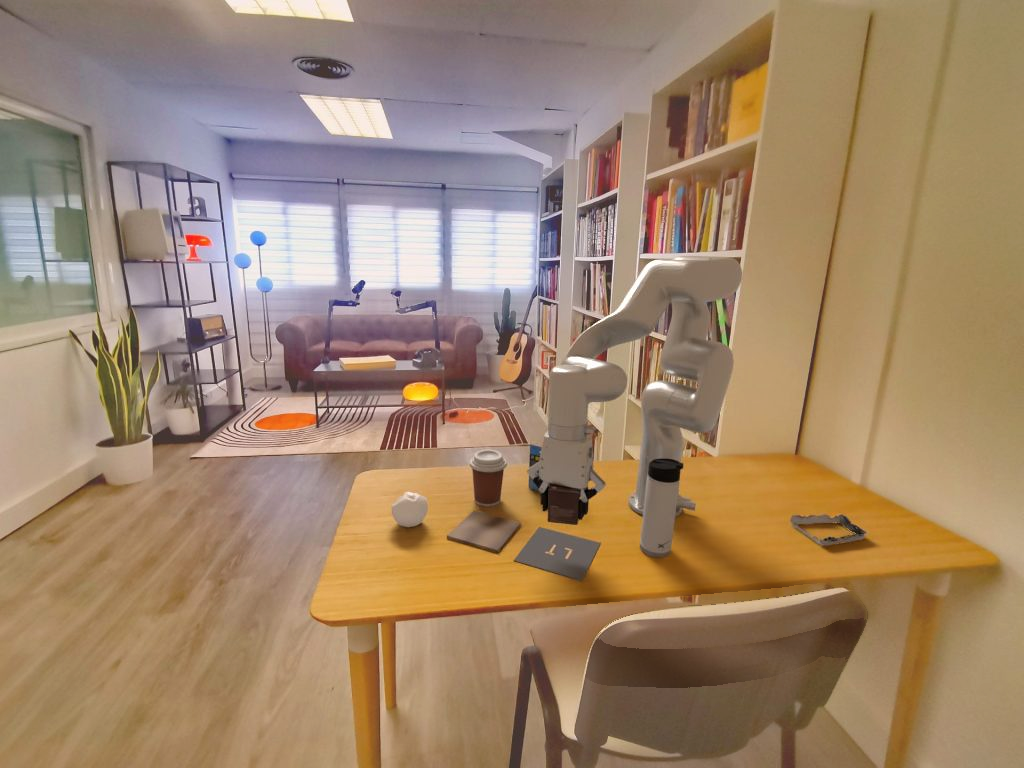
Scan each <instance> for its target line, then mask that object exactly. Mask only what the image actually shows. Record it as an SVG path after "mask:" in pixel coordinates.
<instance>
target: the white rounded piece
mask: <svg viewBox="0 0 1024 768" xmlns="http://www.w3.org/2000/svg"><path fill="white" fill-rule="evenodd" d="M428 507H429V506H428V499H427V497H425V495H424V496H423V495H420V494H419V493H417V492H411V491H405V492H404V493H403V495H402V496H400V497H398V498H397V499H395V501H394V503H393V504H392V505H391V515H392V518H393V520H394V521H395V522H396V523H397V524H398V525H400V526H402V527H405V528H413V527H416V526H418V525H420V524H421V523H423V521H424V519H425V518H426V516H427V514H428V510H429V508H428Z"/></svg>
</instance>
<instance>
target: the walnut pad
mask: <svg viewBox="0 0 1024 768" xmlns="http://www.w3.org/2000/svg"><path fill="white" fill-rule="evenodd" d="M521 525H522V522H520V521H516V520H512V519H508V518H504V517H500V516H497V515H493V514H490V513H485V512H481V511H477V510H473V511H471V512H470V514H468V515H467V516H466V517H465V518H464V519H463V520H462V521H461V522H460V523H459V524H458V525H456V526H455V528H453V529H452V530H451V531H450V532H449V533H447V535H446V538H447V539H449V540H453V541H456V542H458V543H459V542H460V543H462V544H466V545H470V546H473V547H477V548H480V549H484V550H487V551H489V552H490V551H491V552H494V553H499V552H500V551H501V550H502V548H503V547H505V544H506V543H507V542H508V541H509V540H510V538H511V537H513V535H514V534H515V533H516V532H517V530H518V529H519V528H520V527H521Z"/></svg>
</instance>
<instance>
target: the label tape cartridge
mask: <svg viewBox="0 0 1024 768" xmlns="http://www.w3.org/2000/svg"><path fill="white" fill-rule="evenodd" d="M541 448H542V446H538V445H535V444H531V443H530V444H529V464H528V465H529V466H528V467H529V468H530V467H532V466H533V465H535V464H536V463H538V462H539V461H540V454H541ZM529 468H528V469H529ZM537 473H538V475H539V470H538V471H537ZM549 486H550V485H549ZM530 488H531V490H535V491H537V492H539V488H538V487H537V486H536V485H535V483H534V482H533V479H532V478H531V477H530V476H529V475H528V489H530Z"/></svg>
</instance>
